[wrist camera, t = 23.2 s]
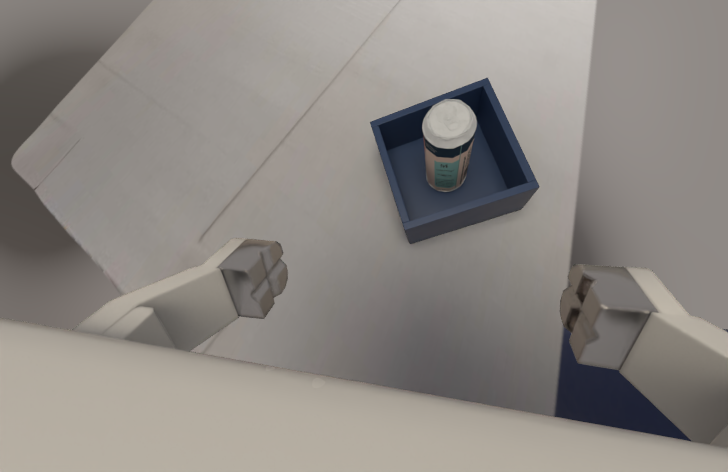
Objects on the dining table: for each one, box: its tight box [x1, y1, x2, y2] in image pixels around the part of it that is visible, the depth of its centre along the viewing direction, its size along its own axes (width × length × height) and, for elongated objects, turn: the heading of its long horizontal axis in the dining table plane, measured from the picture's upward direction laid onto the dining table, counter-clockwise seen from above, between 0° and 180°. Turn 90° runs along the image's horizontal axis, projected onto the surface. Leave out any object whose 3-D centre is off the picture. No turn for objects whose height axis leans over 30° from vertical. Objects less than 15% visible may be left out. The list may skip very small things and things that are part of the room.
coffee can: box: [422, 99, 477, 192], centre depth 34 cm, size 5×5×12 cm
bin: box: [370, 78, 539, 244], centre depth 37 cm, size 14×14×7 cm
